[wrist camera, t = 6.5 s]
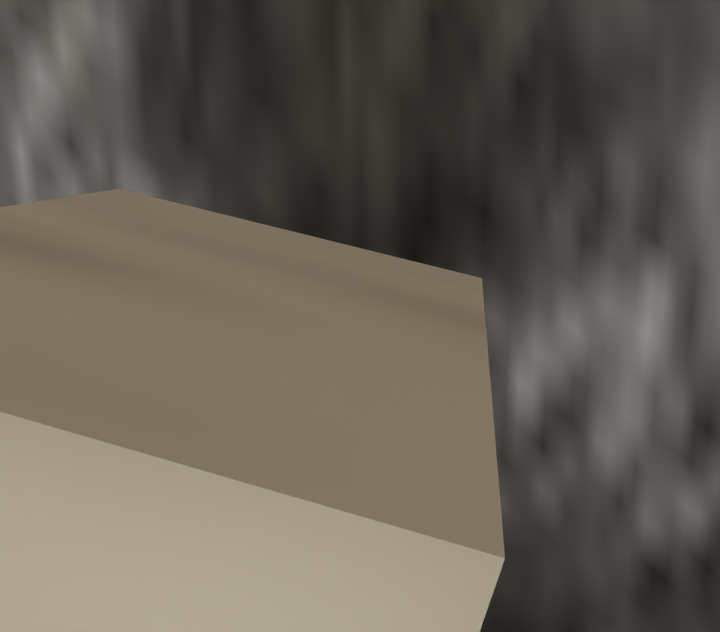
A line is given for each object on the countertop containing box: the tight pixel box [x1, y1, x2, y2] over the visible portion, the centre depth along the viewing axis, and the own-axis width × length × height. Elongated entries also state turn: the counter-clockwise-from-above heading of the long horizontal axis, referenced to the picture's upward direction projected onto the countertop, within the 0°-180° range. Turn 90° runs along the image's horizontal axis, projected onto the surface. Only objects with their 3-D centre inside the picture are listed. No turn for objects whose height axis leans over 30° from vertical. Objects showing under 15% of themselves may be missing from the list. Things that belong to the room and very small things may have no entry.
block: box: [0, 189, 505, 632], centre depth 6 cm, size 7×4×5 cm, turn 169°
